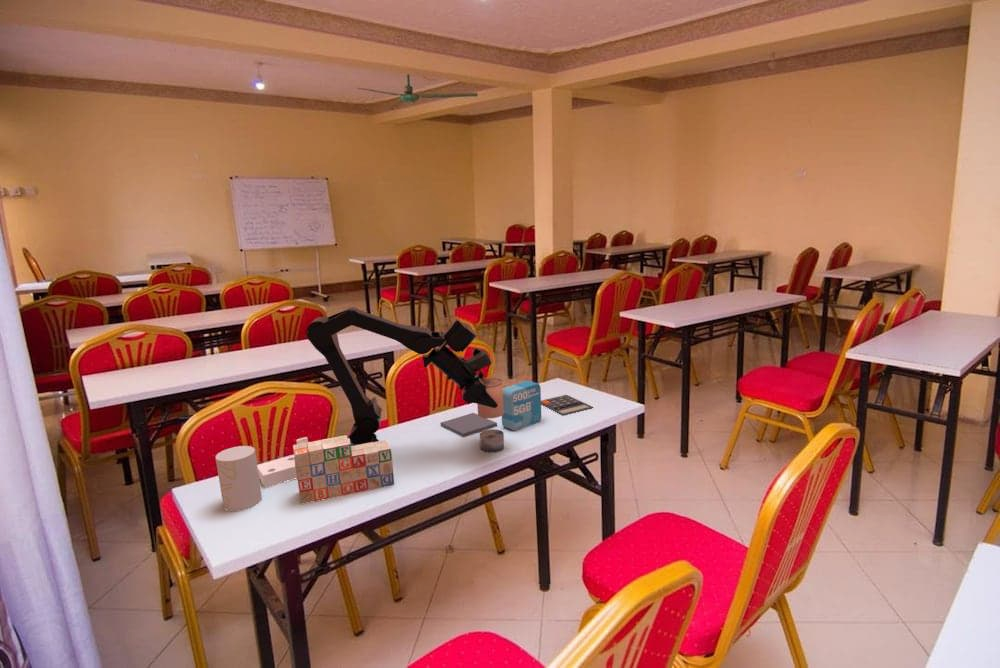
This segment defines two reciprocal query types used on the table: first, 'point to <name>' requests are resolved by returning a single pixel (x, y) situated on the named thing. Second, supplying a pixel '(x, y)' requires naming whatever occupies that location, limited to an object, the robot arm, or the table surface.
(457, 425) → the charcoal mat
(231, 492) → the beige upright cylinder
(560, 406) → the calculator
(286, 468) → the bracket
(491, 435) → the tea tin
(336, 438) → the stack of blocks
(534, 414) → the data package
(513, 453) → the table surface
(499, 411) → the terracotta canister
